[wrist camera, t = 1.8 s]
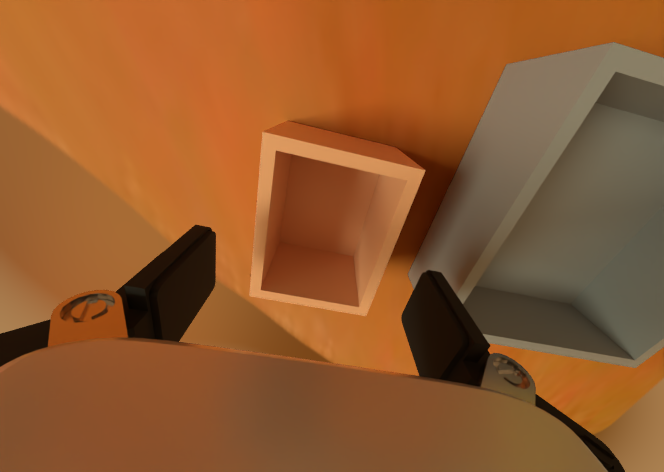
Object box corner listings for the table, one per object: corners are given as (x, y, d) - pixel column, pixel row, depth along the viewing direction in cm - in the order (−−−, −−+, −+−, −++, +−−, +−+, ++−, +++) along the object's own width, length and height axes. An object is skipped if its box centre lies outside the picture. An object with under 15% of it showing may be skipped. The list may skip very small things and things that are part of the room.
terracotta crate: (287, 120, 15) (262, 131, 10) (395, 147, 16) (425, 170, 11) (272, 242, 19) (249, 296, 14) (358, 259, 20) (366, 316, 15)
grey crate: (506, 64, 14) (613, 42, 8) (728, 128, 15) (937, 144, 10) (407, 274, 21) (432, 333, 16) (564, 304, 22) (635, 367, 17)
